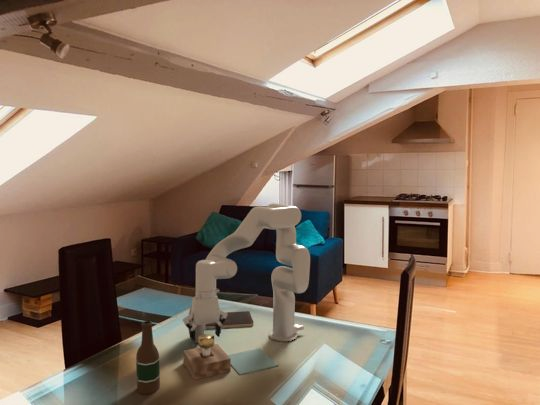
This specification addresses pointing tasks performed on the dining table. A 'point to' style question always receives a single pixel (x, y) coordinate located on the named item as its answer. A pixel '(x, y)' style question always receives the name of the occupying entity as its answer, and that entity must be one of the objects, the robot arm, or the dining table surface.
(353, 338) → the dining table surface
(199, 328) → the planter
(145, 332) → the beer bottle
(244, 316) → the hardcover book
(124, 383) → the dining table surface
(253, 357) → the mat
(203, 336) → the pin
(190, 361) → the block
